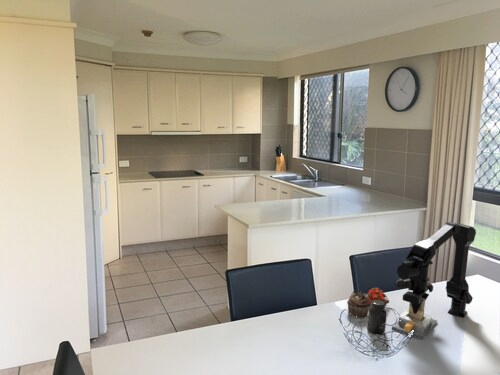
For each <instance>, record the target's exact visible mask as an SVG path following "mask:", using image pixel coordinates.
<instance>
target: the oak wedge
mask: <svg viewBox="0 0 500 375" xmlns="http://www.w3.org/2000/svg"><path fill="white" fill-rule="evenodd" d="M422 299H423V300H424V301H423V303H422V304H421V306H420V308H419V310H418V312H417V313H416V314H414V313H413V309H412V304H411V303H410V302H409V307H408V309H409V315H408V316H409V317H413V318H416V319H419V320H422V319H423V317H424V314H425V308H426V307H425V306H426V301H425V299H424V298H422Z"/></svg>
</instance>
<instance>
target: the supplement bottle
mask: <svg viewBox="0 0 500 375" xmlns="http://www.w3.org/2000/svg"><path fill="white" fill-rule="evenodd" d="M387 317H388V312H387V310H386V306H385V303H384V302H383V301H380V300H374V301H373V302H372V304H371V306H370V308H369V311H368V315H367V325H366V326H367V327H366V328H367V329H366V330H367V331H368V332H369V333H370V334H373V335H375V334H377V336H381V335H384V334H385V333H386V327H387V326H386V325H387ZM383 333H384V334H383Z"/></svg>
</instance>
